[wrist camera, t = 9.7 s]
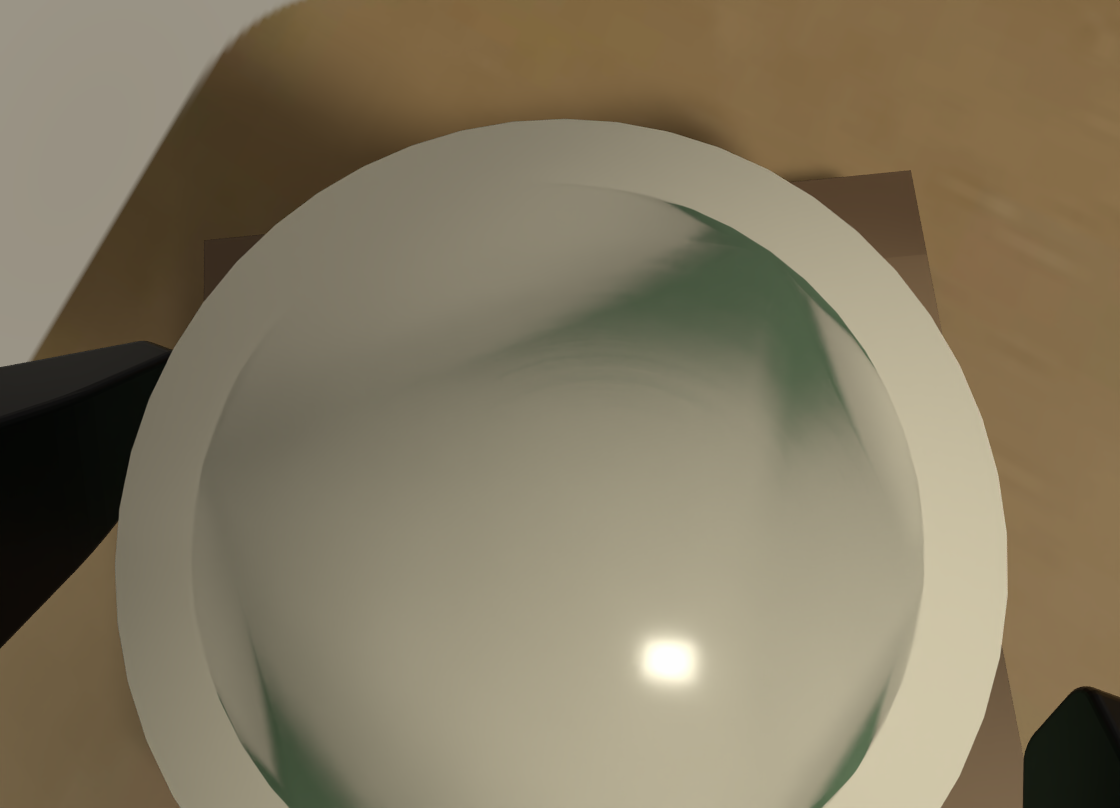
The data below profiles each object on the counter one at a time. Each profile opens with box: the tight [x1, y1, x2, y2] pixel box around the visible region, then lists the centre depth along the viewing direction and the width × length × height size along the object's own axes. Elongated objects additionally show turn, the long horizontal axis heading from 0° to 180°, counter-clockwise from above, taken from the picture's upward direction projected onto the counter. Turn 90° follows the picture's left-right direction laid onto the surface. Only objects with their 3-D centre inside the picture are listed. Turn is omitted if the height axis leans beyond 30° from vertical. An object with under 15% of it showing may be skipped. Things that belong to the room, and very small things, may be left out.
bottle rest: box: [204, 170, 1024, 808], centre depth 15 cm, size 14×14×4 cm
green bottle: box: [115, 119, 1008, 808], centre depth 10 cm, size 6×6×13 cm
